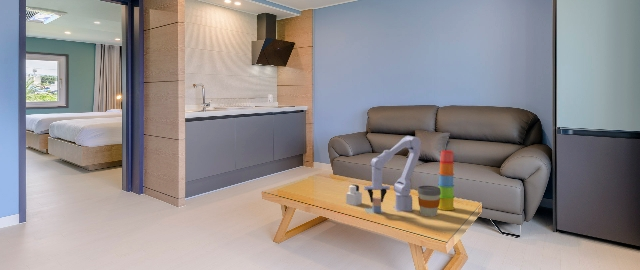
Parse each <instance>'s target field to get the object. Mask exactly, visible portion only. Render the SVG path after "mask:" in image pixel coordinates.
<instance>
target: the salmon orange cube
mask: <svg viewBox="0 0 640 270" xmlns="http://www.w3.org/2000/svg"><path fill="white" fill-rule="evenodd" d="M371 204H372V205H374V206H381V207H382V202H381V196H380V197H379V196H376V197H374V196H373V203H371Z"/></svg>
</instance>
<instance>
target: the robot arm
mask: <svg viewBox="0 0 640 270" xmlns="http://www.w3.org/2000/svg"><path fill="white" fill-rule="evenodd" d="M422 144H423V143H422V140H421V139H420V137H418V136H412V135H405V136H404V137H403V138H401V140H399V142H397V143H396V144H395V145H394V146H393V147H392V148H391V149H385V150H383V152H382V153H381V154H380V155H377V157H373V158H372V159H371V161H370V162H369V163H370V166H371V185H365V186H364V187H363V190H364V191H366V192H367V193H368V196H369V198H370V203H371V204H372V203H373V197H374V192H373V191H380V199H381V203H383V202H384V199H385V196H386V194H387V192H388V191H390V190H391V186H390V185H383V168H384V167H385V164H386V163H388V162H389V161H391V160H392V159H393V158H394V155H395V154H397V153H398V152H400V151H402V149H405V148H407V149H408V151H409V156H408V157H407V161H406V164H405V167H404V168H403V171H402V174H401V176H400V177H399V178H398V179H397V180H396V182H395V183H394V185H393V187H392V189H393V190H394V192H395V201H394V202H395V203H394V204H395V206H393V209H394V210H395V211H396V212H413V211H414V210H413V196H412V194H411V191H412V190H411V189H412V188H411V187H412V183H411V179H412V176H413V174H414V171H415V168H416V166H417V164H418V161H419V158H420V155H421V146H422Z"/></svg>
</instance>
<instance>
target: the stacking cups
mask: <svg viewBox="0 0 640 270" xmlns="http://www.w3.org/2000/svg"><path fill="white" fill-rule="evenodd" d="M454 164H455V162H454V151H453V150H441V152H440V162H439V172H438V175H439V176H438V177H439V179H438V183H437V185H438V187H439V188H440V191H441V194H440V203H439V207H438V209H439V210H443V211H453V210H456V209H455V208H456V207H454V200H455V199H454V198H455V195H454V187H455V184H454V175H455V174H454Z"/></svg>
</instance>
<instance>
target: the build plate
mask: <svg viewBox="0 0 640 270" xmlns="http://www.w3.org/2000/svg"><path fill="white" fill-rule="evenodd" d="M363 210H364V211H365V212H366V214H375V213H374V212H373V211H372V207H363ZM384 213H385V211H384V210H382V208H381V213H380V214H384Z"/></svg>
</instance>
